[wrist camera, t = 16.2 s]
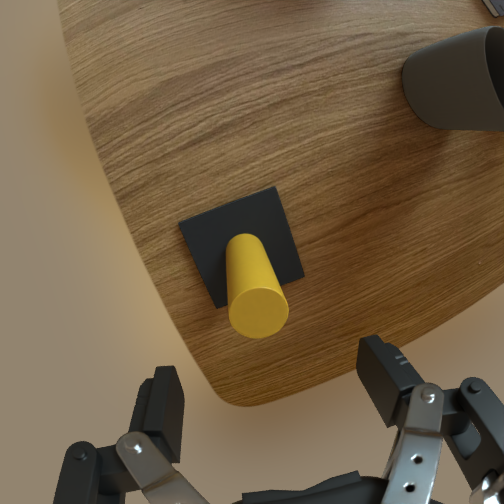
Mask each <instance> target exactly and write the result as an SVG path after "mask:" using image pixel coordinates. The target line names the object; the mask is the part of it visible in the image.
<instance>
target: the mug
mask: <svg viewBox="0 0 504 504" xmlns="http://www.w3.org/2000/svg"><path fill="white" fill-rule="evenodd" d="M402 83H403V89H404V93H405V96H406V98H407V100H408V102H409V104H410V106H411V108H412V109H413V111H414V112H415V113H416V115H417V116H418V117H419V118H420V119H421V120H423V121H424V122H425V123H427V124H428V125H430V126H432V127H435V128H439V129H448V130H477V131H503V132H504V28H502V27H499V26H488V27H484V28H479V29H476V30H472V31H469V32H465V33H462V34H459V35H456V36H453V37H450V38H447V39H445V40H442V41H439V42H437V43H434V44H432V45H429V46H427V47H425V48H422V49H420V50H418V51H416V52H415V53H413V54H412V55H410V56H409V57H408V59H407V60H406V62H405V64H404V67H403V71H402Z"/></svg>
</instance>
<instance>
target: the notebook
mask: <svg viewBox="0 0 504 504" xmlns="http://www.w3.org/2000/svg"><path fill="white" fill-rule="evenodd" d="M482 1H483V3H484V4H485V6H486V7H487V9H488V10H489V11H490V13H491V14H492V16H493V17H495V18H497V17H498V16H503V15H504V0H482Z"/></svg>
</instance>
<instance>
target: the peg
mask: <svg viewBox="0 0 504 504" xmlns="http://www.w3.org/2000/svg"><path fill="white" fill-rule="evenodd" d="M226 273H227V296H228V316H229V321H230V324H231V325H232V327H233V328H234V329H235V330H236V331H237V332H238V333H239V334H241V335H243V336H245V337H248V338H254V339H259V338H265V337H269V336H271V335H273V334H275V333H276V332H278V331H279V330H280V329H281V328H282V327H283V325H284V324H285V322H286V320H287V317H288V312H289V309H288V304H287V301H286V299H285V297H284V294H283V292H282V289H281V287H280V285H279V282H278V280H277V278H276V275H275V273H274V271H273V268H272V266H271V263H270V261H269V259H268V256H267V254H266V252H265V249H264V247H263V245H262V243H261V241H260V240H259V239H258V238H257V237H255V236H254V235H251V234H240V235H237V236H235V237H233V238H232V239H231V240H230V241H229V243H228V245H227V247H226Z"/></svg>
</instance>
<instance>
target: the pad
mask: <svg viewBox="0 0 504 504" xmlns="http://www.w3.org/2000/svg"><path fill="white" fill-rule="evenodd" d="M178 225H179V227H180V229H181V232H182V234H183V236H184V239H185V241H186V243H187V245H188V248H189V250H190V252H191V254H192V257H193V259H194V261H195V263H196V266H197V268H198V270H199V272H200V274H201V277H202V279H203V281H204V283H205V285H206V287H207V290H208V292H209V294H210V296H211V298H212V300H213V302H214V304H215V307H216V308H217V309H218V308H220V307H223V306H226V305H228V296H227V273H226V247H227V245H228V243H229V241H230V240H231V239H232V238H233V237H235V236H237V235H240V234H251V235H254V236H255V237H257V238H258V239H259V240H260V241H261V243H262V245H263V247H264V249H265V252H266V254H267V256H268V259H269V261H270V263H271V266H272V268H273V271H274V273H275V275H276V278H277V280H278V282H279V285H280V286H281V285H284V284H287V283H289V282H292V281H295V280H297V279H300V278H303V277H305V275H304V272H303V269H302V266H301V263H300V259H299V256H298V253H297V250H296V247H295V244H294V241H293V237H292V234H291V231H290V228H289V225H288V222H287V219H286V216H285V213H284V210H283V207H282V204H281V201H280V198H279V195H278V192H277V190H276V187H275V186H274V187H271V188H269V189H266V190H263V191H260V192H257V193H255V194H252V195H249V196H246V197H244V198H241V199H238V200H236V201H233V202H230V203H228V204H225V205H222V206H220V207H217V208H215V209H212V210H209V211H207V212H204V213H202V214H199V215H197V216H194V217H192V218H189V219H187V220H184V221H182V222H179V223H178Z"/></svg>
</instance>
